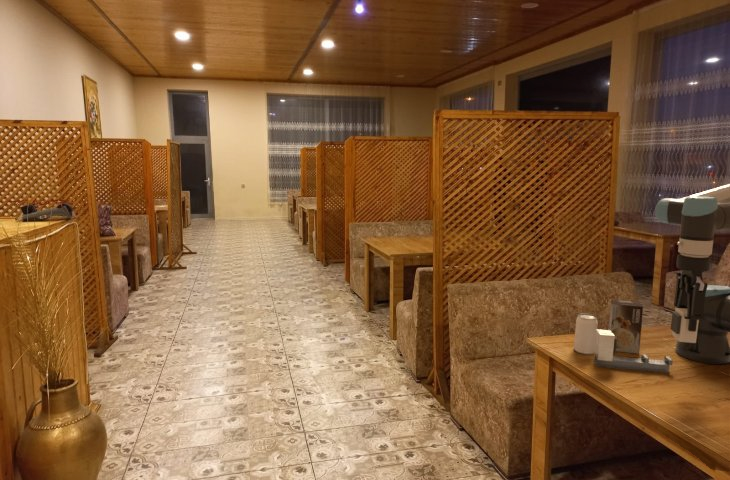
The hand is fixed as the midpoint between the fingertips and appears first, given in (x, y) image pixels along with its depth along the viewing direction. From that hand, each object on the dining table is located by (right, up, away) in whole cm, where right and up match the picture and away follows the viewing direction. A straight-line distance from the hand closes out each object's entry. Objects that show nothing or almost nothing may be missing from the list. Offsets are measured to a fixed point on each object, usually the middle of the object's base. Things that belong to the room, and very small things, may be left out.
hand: (684, 337), depth 138 cm
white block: (0, 0, 0) cm, 0 cm away
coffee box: (-1, -10, +31) cm, 32 cm away
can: (-15, -10, +29) cm, 34 cm away
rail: (-7, -12, +16) cm, 21 cm away
